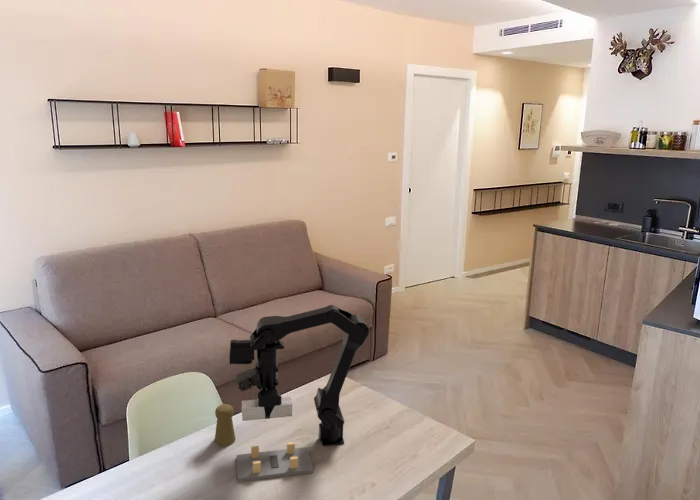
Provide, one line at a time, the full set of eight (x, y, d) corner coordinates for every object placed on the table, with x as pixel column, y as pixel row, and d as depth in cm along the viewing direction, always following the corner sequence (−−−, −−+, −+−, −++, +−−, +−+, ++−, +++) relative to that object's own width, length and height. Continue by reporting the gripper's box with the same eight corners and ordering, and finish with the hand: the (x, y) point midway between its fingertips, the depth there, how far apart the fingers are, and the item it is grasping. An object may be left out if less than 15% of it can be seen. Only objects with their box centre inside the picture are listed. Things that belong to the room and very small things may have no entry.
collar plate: (307, 449, 153) (307, 437, 152) (313, 472, 143) (313, 459, 142) (236, 457, 148) (236, 445, 147) (237, 481, 139) (237, 468, 138)
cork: (230, 447, 152) (229, 413, 149) (210, 444, 153) (209, 410, 150) (238, 435, 158) (238, 402, 155) (220, 432, 159) (219, 399, 156)
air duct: (290, 408, 156) (290, 396, 155) (292, 416, 152) (292, 403, 151) (241, 413, 152) (241, 400, 151) (242, 421, 149) (242, 408, 148)
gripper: (236, 349, 155) (237, 397, 159) (239, 380, 137) (239, 433, 141) (274, 347, 157) (274, 393, 161) (281, 377, 140) (281, 429, 144)
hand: (267, 411), depth 152 cm, fingers closed on air duct, 4 cm apart
